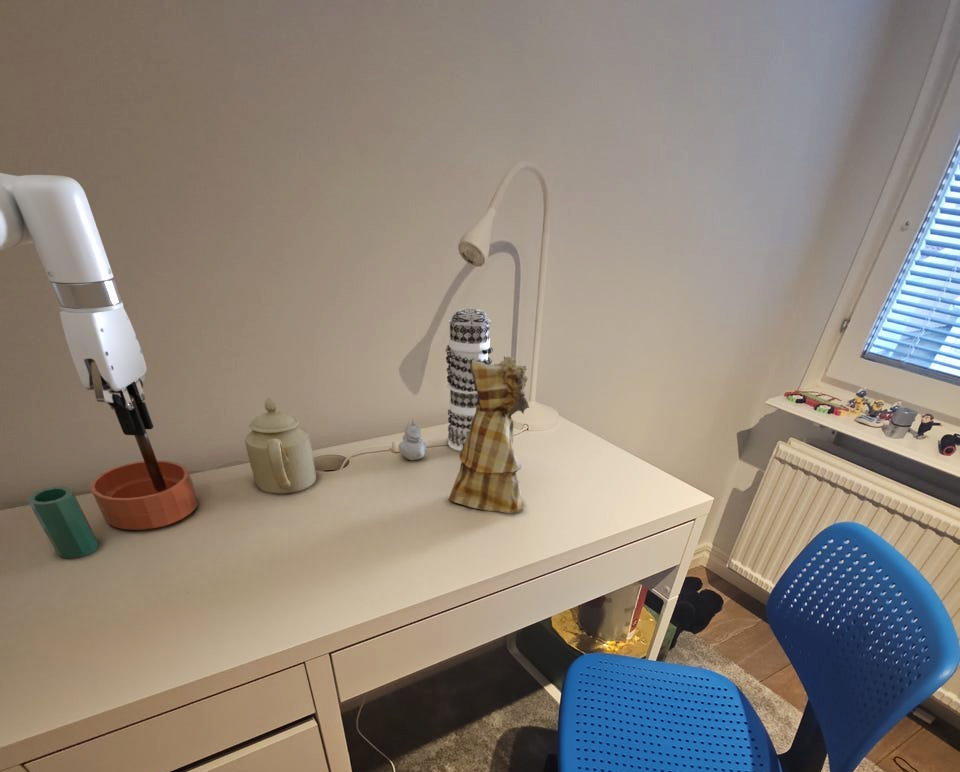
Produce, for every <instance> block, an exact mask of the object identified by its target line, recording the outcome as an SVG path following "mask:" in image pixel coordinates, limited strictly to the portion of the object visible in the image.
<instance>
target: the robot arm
mask: <svg viewBox="0 0 960 772" xmlns="http://www.w3.org/2000/svg"><path fill="white" fill-rule="evenodd" d="M102 241H103V240H102V238H101V235H100V232H99V230H98V226H97V224H96V221H95V218H94V214H93V212H92V209H91V206H90V204H89V200H88V197H87V195H86V192H85V190H84V188H83V187H82V185H81V184H80V183H79V182H78V181H77V180H75V179H74V178H72V177H70V176H65V175H57V174H56V175H55V174H23V175H15V174H9V173H3V172H0V252H1V251H4V250H8V249H12V248H15V247H19V246H23V245H28V244H33V245H34V248H35V250H36V253H37V255H38V257H39V260H40V262H41V265H42V267H43V269H44V272H45V274H46V277H47V280H48V282H49V284H50V285H49V286H50V287H51V290H52V292H53V294H54V296H55V299H56V302H57V304H58V306H59V309H60V311H59V317H60V321H61V326H62V330H63V333H64V336H65V340H66V343H67V347H68V349H69V352H70V356H71V359H72V361H73V365H74V367H75V370H76V372H77V374H78V377H79V379H80V382H81V384H82V386H83V387H84V388H85V389H86V390H87V391H94V395H95V399H96V401H97V402H98V403H106V404H108V405H109V407H110V409H111V410H113V411H114V413H115V415H116V418H117V420H118V423H119V426H120V429H121V430H122V433H123V434H124V435H126V436H134V435H138V436H143V435H145V434H146V432H147V431H146V432H145V429H146V430H152V429H153V428H154V424H153V421H152V419H151V415H150V413H149V410H148V406H147V404H146V402H145V401H146V395H145V393H144V389H143V388H144V384H143V383H144V382H145V380H146V378H147V374H146V373H147V364H146V363H147V362H146V360H145V356H144V353H143V350H142V347H141V346H140V343H139V340H138V337H137V334H136V332H135V330H134V328H133V327H134V326H133V325H132V323H131V322H132V321H131V320H130V318H129V316H128V314H127V311H126V309H125V308H124V303H123V299H122V296H121V294H120V290H119V288H118V285H117V282H116V280H115V277H114V274H113V270H112V268H111V267H112V266H111V264H110V262H109V259H108V256H107V252H106V250H105V246H104V244H103V242H102ZM129 395H131V396H133V398H134V399H135V402H136V405H137V407H138V410H139V413H140V416H141V418H142V421H143V424H144V426H143V424H142V421H141V418H140V416H139V413H138V410H137V408H133V404H132V402H131V399H130V396H129ZM144 427H145V429H144Z"/></svg>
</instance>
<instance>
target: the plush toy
mask: <svg viewBox="0 0 960 772" xmlns="http://www.w3.org/2000/svg"><path fill="white" fill-rule="evenodd" d="M470 367H471V371H472V375H473V380H474V385H475V389H476V390H477V393H478V400H477V405H478V406H477V408H476V413H475V415H474V417H473V420H472V422H471V428H470V432H469V434H468V436H467V438H466V441H465V444H464V446H463V449H462V450H461V451H459V460H460V461H461V463H460V468H459V472H458V474H457V476H456V478H455V481H454V484H453V487H452V489H451V491H450V494H449V496H448V499H447V500H448V501H451V502H452V503H455V504H456V503H457V504H459V505H463V506H466V507H469V508H473V509H477V510H483V511H488V512H501V513H507V514H509V513H510V514H515V513H519V512H521V511H523V510H524V505H523V497H522V492H521V488H520V481H519V479H518V475H517V472H518V471H519V470H521V469H522V464H521V463H520V461H519V459H518V458H517V456H516V454H515V450H514V420H513V418H512V417H513V415H515V413H516V412H521V414H522V415H524V413H525V411H526V410H527V409H530V406H529V402H528V401H527V397H525V396H526V391H525V387H526V383H527V381H528V377H527V376H526V371H527V369H528V368H527V366H526V365H517V360H516V359H515V358H513V357H510V356H505V355H503V360H501V361H500V363H493V364H489V365H488V364H484V363H482V362H478V361H477V360H472V362H471V365H470Z"/></svg>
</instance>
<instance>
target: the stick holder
mask: <svg viewBox="0 0 960 772" xmlns="http://www.w3.org/2000/svg"><path fill="white" fill-rule="evenodd" d="M27 503H28V504H29V506H30V508H31V510H32V512H33V514H34V516H35V517H36V519H37V521H38V523H39V525H40V526H41V528H42V530H43V531H44V533H45V535H46V537H47V538H48V540H49V542H50V544H51V546H52V547H53V549H54V551H55V553H56V554H57V556H59V557H60V558H62V559H67V560H73V559H74V560H75V559H79V558H84V557H86V556H89V555H91V554H92V553H94V552H95V551H96V550H97V549H98V548H99V542H98V539H97V537H96V535H95V533H94V531H93V529H92V527H91V525H90V523H89V521H88V519H87V517H86V515H85V513H84V511H83V509H82V506H81V504H80V502H79V500H78V498H77V497H76V495H75V492H74V489H72V488H70V487H67V486H51V487H45V488H42V489H39V490H36V491H35V492H33V493H31V494H30V495H28V497H27Z"/></svg>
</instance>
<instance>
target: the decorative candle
mask: <svg viewBox="0 0 960 772" xmlns="http://www.w3.org/2000/svg"><path fill="white" fill-rule="evenodd" d="M448 322H449V337H448V344H447V345H446V348H445V352H446V355H447V356H445V361H446V363H447V364H448V365H447V368H446V372H447V376H446V379H447V388H448V389H449V390H450V393H449V398H450V399H449V402H448V403H449V405H448V407H449V408H448V410H447V415H448V418H447V422H448V423H449V424H448V425H447V432H448V433H447V438H448V446H449V447H450V448H451V449H453V450H455V451H459V452H460V451H461V450H462V449H463V446H464V444H465V441H466V438H467V436H468V434H469V432H470V428H471V422H472V420H473V417H474V415H475V413H476V408H477V406H478V405H477V400H478V393H477V390H476V389H475V385H474V380H473V375H472V371H471V367H470V365H471V362H472V360H477V361H478V362H482V363H484V364H488V365H492V363H493V360H492V358H490V357H489V355H491V354H492V353H493V352H494V348H492V347H491V345H490V344H491V338H490V324H492V320H490V319H489V317H488V315H487V313H486V312H485V311H483V310H481V309H475V308H462V309H458V310H456V311H454V314H453V315H452V317H451V318H449V319H448Z"/></svg>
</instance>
